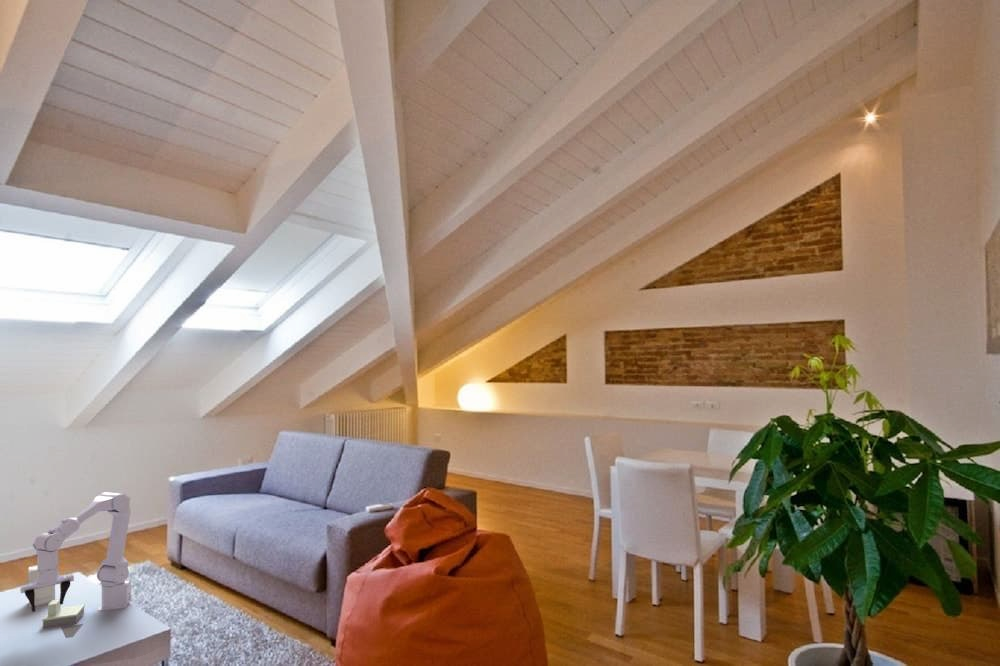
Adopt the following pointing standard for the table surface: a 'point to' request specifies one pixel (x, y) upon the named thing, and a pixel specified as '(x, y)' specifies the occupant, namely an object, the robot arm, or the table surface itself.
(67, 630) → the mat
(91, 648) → the table surface
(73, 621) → the tub
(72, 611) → the lid
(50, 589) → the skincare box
